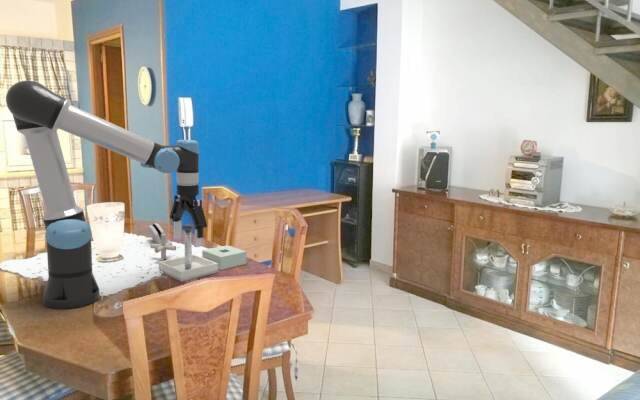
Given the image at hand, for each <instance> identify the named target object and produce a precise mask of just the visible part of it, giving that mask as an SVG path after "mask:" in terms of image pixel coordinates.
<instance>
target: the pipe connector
mask: <svg viewBox="0 0 640 400" xmlns="http://www.w3.org/2000/svg"><path fill="white" fill-rule="evenodd" d="M166 238H167V235H166V233H165V234H161V244H157V243H151V244H150V249H154V252H155V253H156V254H157V253H160V258H161V259H166V260H167V250H168V251H176V250H177V246H176V245H173V243H172V242H171V241H170V242H168V243H166ZM172 245H173V246H172ZM161 259H160V260H161Z"/></svg>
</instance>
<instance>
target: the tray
mask: <svg viewBox="0 0 640 400" xmlns="http://www.w3.org/2000/svg"><path fill="white" fill-rule="evenodd" d="M159 270H160V271H162V272H163V273H162V272H161V273H162V274H164V275H165V276H168V277H170V278H172V279H174V280H176V281H178V282H181V283H182V282H185V281H191V280H194V279H197V278H198V279H199V278H202V277H206V276H210V275H213V274H218V271H219V269H218V263H215V262H213V261H210V260H208V259H205V258H203V257H202V256H200V255H197V254H192V269H188V270H185V255H184V256H181V257H176V258H171V259H166V260H160V261H158V271H159Z"/></svg>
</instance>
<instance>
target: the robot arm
mask: <svg viewBox="0 0 640 400" xmlns="http://www.w3.org/2000/svg"><path fill="white" fill-rule="evenodd" d="M5 103H6V106H7V108H8V109H7V110H9V111H10V113H11V114H12V116H13V117H12V118H13V120H14V124H15V128H16V130H17V132H18V133H20V134H22V135H23V136H24V137H25V141H26V145H27V149H28V151H29V155H30V160H31V162H32V166H33V169H34V174H35V177H36V180H37V183H38V187H39V191H40V193H41V197H42V201H43V202H42V203H43V205H44V208H45V213H44V214H43V216H42V222H43V224H44V225H43V226H44V230H45V240H46V252H47V253H46V255H47V270H48V276H47V277H48V278H47V281H46V285H45V286H44V287H45V288H44V291H43V294H42V304H43V306H45V307H46V308H47V307H48V308H50V309H55V310H56V309H59V310H60V309H61V310H63V309H74V308H79V307H83V306H87V305H90V304H92V303H94V302H96V301H97V300H98V299H99V298H100V295H101V294H100V288H99V285H98V283H97V280H96V278H95V275H94V273H93V259H92V258H93V257H92V256H93V255H92V254H93V253H92V234H93V233H92V230H91V226H90V224H89V223H88V222H87V220H86V217H85V216H86V215H85V213H84V209H83V208H82V207H81V206H78V205H77V203H76V199H75V194H74V192H73V188H72V184H71V180H70V177H69V172H68V170H67V165H66V161H65V157H64V154H63V150H62V146H61V142H60V139H59V136H58V130H61V131H64V132H66V133H69V134H71V135H74V136H76V137H77V138H80V139H83V140H86V141H87V142H90V143H92V144H95V145H97V146H100V147H102V148H104V149H108V150H110V151H111V152H114V153H117V154H118V155H122V156H124V157H126V158H129V159H131V160H133V161H135V162H139V163H140V166H141V167H142V168H149V169H155V170H156V171H159V172H160V173H162V174H171V173H174V172H175V171H176V183H177V184H176V195H174V199H173V203H172V204H173V205H172V207H171V211H170V215H169V218H170V219H172V222H173V240H180V239H182V217H183V215H184V213H185V211H187V212H188V214H190V216H191V218H192V221H193V225H194V227H195V228H194V248H198V247H199V248H200V247H203V238H204V229H206V228H207V227H208V223H207V219H206V216H205V213H204V209H203V205H202V204H203V201H202V199H197V198H196V197H197V196H199V194H200V193H199V190H200V186H199V177H200V176H199V175H200V174H199V173H200V172H199V167H200V166H199V165H200V164H199V163H200V149H199V147H200V145H199V142H198V140H193V139H178V140H176V144H175V145H161V144H159V143H157V142H155V141H153V140H150V139H148V138H146V137H144V136H141V135H139V134H136V133H134V132H132V131H130V130H127V129H126V128H123V127H121V126H118V125H117V124H114V123H112V122H110V121H108V120H106V119H103V118H101V117H99V116H97V115H95V114H92V113H90V112H88V111H86V110H83V109H81V108H79V107H77V106H74V105H72V104H70V102H69V100H68V99H67V98H65V97H62V96H61V95H59V94H56V93H55V92H53V91H51V90H50V89H49V88H48V87H47V86H45V85H43V84H42V83H40V82H36V81H35V80H34V81H33V80H21V81H18V82H15V83H14V84H12V86H10V88H9V89H8V90H7V92H6V96H5Z"/></svg>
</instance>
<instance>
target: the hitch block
mask: <svg viewBox="0 0 640 400" xmlns="http://www.w3.org/2000/svg"><path fill="white" fill-rule="evenodd" d="M201 252H202V253H201V257H203V258H205V259H208V260H210V261H213V262H215V263H218V271H223V270H227V269H232V268H235V267H240V266H243V265H244V266H245V265H247V250H243V249H241V248H237V247H234V246H231V245H229V244H227V245H222V246H217V247H216V246H215V247H212V248H208V249H207V248H206V249H202V251H201Z"/></svg>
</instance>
